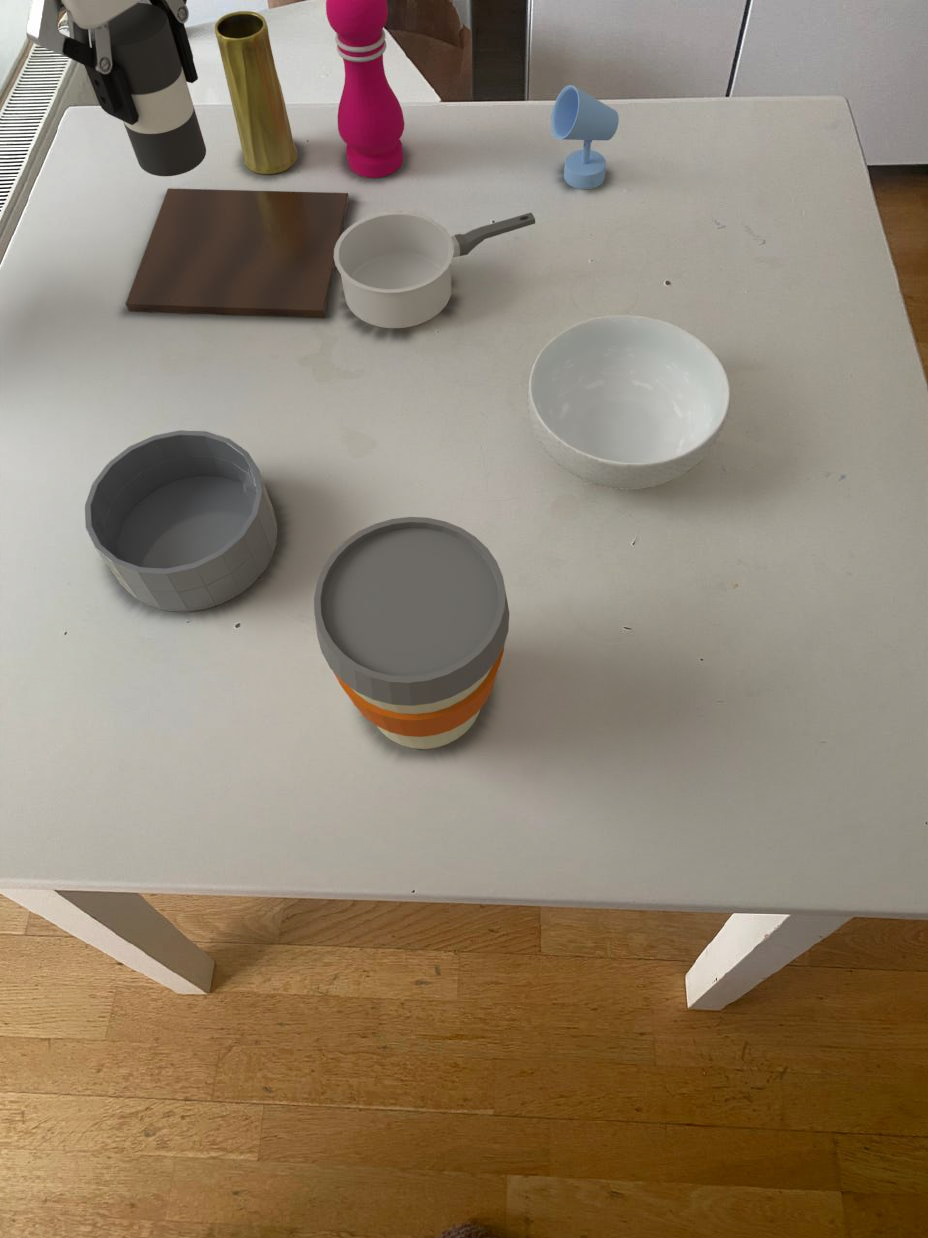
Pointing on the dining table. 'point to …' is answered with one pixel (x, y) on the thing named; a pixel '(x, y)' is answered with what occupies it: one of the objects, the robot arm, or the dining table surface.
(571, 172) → the spotlight
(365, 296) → the saucepan
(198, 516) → the grey pet bowl
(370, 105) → the pepper mill
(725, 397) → the cereal bowl
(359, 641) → the reusable coffee cup
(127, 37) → the dark grey banded canister
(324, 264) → the board
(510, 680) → the dining table surface
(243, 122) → the vase
